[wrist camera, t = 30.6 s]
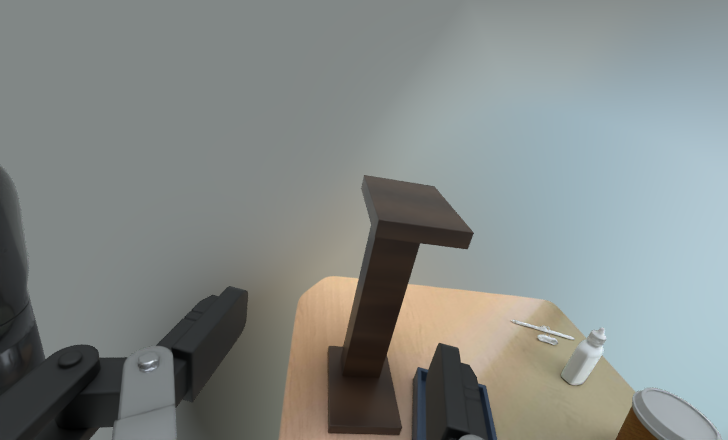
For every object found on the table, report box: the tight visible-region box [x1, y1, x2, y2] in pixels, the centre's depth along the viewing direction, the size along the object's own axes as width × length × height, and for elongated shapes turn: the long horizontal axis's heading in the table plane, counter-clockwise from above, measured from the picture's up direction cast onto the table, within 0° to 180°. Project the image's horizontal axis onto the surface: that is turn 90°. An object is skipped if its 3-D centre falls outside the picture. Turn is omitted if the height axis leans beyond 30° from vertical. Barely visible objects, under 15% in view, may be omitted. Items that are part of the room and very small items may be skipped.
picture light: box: [511, 320, 575, 345], centre depth 74 cm, size 14×4×2 cm, turn 78°
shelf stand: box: [328, 175, 474, 435], centre depth 46 cm, size 14×10×32 cm
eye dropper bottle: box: [561, 327, 607, 385], centre depth 62 cm, size 4×6×12 cm
